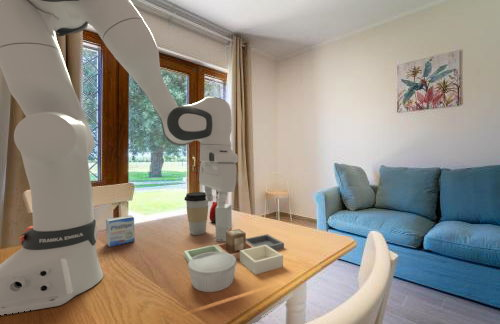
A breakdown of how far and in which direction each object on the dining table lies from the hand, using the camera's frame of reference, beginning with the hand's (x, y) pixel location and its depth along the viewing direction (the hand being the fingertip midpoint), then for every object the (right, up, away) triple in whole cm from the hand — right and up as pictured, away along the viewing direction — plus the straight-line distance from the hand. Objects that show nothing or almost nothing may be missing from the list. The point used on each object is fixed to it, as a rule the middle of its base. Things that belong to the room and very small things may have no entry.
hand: (214, 203), depth 69 cm
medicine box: (-34, -16, +14) cm, 40 cm away
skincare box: (+1, -15, +16) cm, 22 cm away
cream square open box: (+13, -16, -5) cm, 21 cm away
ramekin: (+2, -17, -13) cm, 21 cm away
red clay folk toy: (-4, -15, +38) cm, 41 cm away
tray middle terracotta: (+6, -16, +3) cm, 17 cm away
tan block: (+6, -15, +3) cm, 17 cm away
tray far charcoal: (+14, -15, +8) cm, 22 cm away
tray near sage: (-2, -16, -1) cm, 16 cm away
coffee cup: (-10, -15, +23) cm, 30 cm away
